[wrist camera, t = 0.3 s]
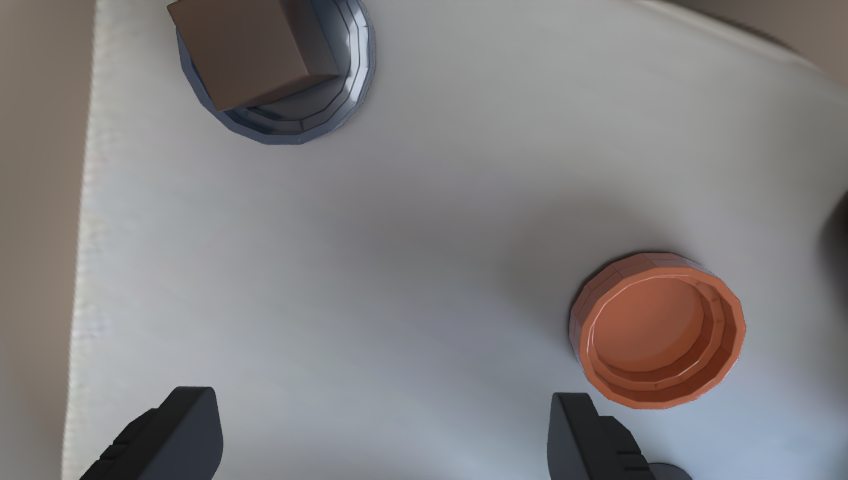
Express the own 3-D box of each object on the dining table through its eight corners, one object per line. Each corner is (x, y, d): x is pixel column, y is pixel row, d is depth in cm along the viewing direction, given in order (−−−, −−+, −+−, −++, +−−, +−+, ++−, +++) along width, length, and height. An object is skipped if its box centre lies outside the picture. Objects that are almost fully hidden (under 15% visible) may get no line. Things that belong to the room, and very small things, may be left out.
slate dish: (191, -47, 23) (160, -63, 20) (373, -50, 22) (365, -65, 20) (217, 138, 25) (193, 144, 23) (379, 138, 25) (372, 144, 23)
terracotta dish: (574, 249, 27) (588, 266, 24) (731, 249, 27) (761, 267, 24) (561, 380, 30) (572, 408, 27) (703, 382, 29) (727, 410, 27)
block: (231, 23, 23) (164, 5, 17) (307, -9, 23) (263, -39, 17) (268, 104, 24) (216, 112, 19) (340, 75, 24) (310, 74, 18)
